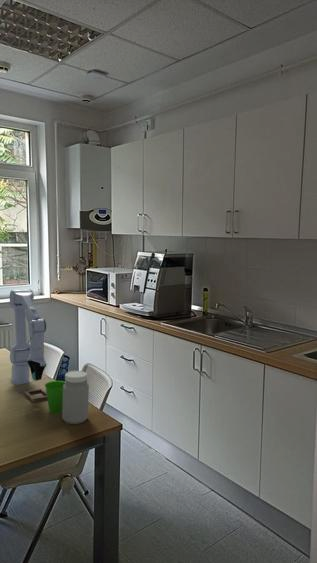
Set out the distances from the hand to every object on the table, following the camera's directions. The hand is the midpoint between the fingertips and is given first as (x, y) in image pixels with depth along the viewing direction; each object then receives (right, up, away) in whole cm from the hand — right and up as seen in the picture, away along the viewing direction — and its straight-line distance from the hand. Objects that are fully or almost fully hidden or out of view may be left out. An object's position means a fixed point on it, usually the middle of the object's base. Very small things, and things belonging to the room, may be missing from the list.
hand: (36, 378), depth 177 cm
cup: (+11, -11, -12) cm, 20 cm away
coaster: (-7, -8, +6) cm, 12 cm away
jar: (+20, -12, -19) cm, 30 cm away
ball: (0, -1, 0) cm, 1 cm away
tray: (0, -9, 0) cm, 9 cm away
